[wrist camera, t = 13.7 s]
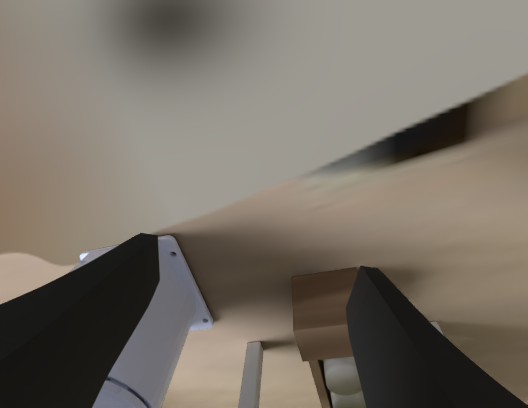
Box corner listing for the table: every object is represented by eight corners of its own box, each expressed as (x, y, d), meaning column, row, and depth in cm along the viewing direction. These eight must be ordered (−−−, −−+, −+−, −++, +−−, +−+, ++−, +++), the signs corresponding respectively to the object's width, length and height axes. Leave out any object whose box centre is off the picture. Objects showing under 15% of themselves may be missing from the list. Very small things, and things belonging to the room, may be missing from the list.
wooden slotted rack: (290, 276, 22) (291, 330, 18) (356, 266, 21) (374, 321, 17) (326, 403, 29) (333, 464, 25) (376, 399, 29) (393, 462, 24)
